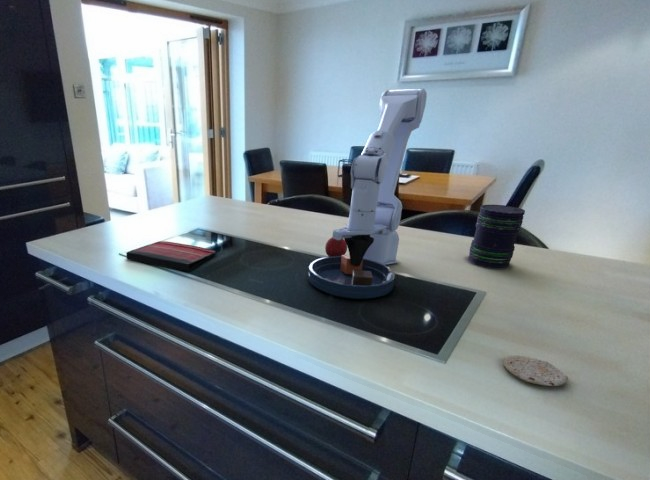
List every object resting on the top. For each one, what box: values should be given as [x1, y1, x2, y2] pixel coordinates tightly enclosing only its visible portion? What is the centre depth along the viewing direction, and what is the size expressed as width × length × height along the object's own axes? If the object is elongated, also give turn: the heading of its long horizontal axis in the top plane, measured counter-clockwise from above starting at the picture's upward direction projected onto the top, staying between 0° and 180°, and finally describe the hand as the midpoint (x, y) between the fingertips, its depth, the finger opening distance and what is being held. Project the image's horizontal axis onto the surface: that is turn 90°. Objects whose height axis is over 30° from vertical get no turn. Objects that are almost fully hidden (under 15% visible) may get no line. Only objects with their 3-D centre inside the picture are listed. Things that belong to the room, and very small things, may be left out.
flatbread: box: [502, 355, 569, 387], centre depth 61 cm, size 8×8×1 cm
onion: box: [324, 237, 348, 257], centre depth 107 cm, size 6×6×8 cm
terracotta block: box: [340, 254, 363, 274], centre depth 98 cm, size 4×4×4 cm
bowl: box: [307, 256, 396, 300], centre depth 93 cm, size 19×19×4 cm
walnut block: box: [351, 270, 373, 285], centre depth 88 cm, size 4×4×4 cm
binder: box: [125, 240, 217, 273], centre depth 111 cm, size 16×2×21 cm
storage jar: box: [467, 204, 526, 270], centre depth 104 cm, size 10×10×15 cm
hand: (355, 265), depth 95 cm, fingers closed, pressing on terracotta block
